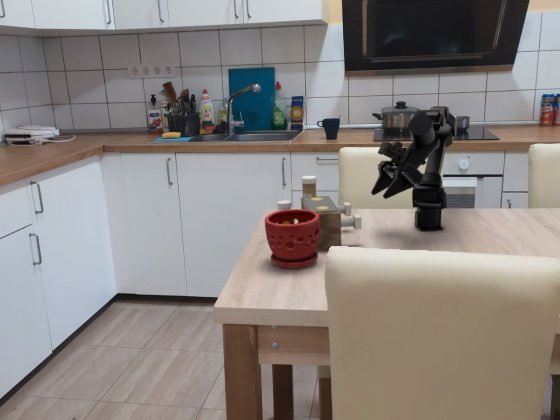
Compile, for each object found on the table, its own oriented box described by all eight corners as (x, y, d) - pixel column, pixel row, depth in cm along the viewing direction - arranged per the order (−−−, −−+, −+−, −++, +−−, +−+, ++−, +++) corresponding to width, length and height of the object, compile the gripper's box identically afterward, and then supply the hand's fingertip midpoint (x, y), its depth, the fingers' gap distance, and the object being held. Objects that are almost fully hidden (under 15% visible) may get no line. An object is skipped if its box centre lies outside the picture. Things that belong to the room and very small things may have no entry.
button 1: (349, 213, 154) (348, 202, 153) (351, 216, 151) (351, 205, 150) (315, 215, 154) (315, 204, 153) (317, 218, 151) (317, 207, 150)
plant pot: (270, 253, 138) (268, 208, 135) (321, 253, 137) (320, 208, 134) (263, 272, 126) (260, 223, 123) (319, 272, 124) (318, 222, 121)
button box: (329, 229, 157) (328, 195, 154) (341, 250, 138) (340, 213, 136) (302, 231, 156) (300, 197, 154) (310, 252, 138) (309, 214, 135)
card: (327, 197, 153) (327, 195, 152) (337, 211, 137) (337, 209, 137) (303, 198, 152) (303, 197, 152) (310, 213, 137) (310, 211, 137)
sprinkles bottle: (320, 218, 168) (319, 176, 164) (308, 221, 165) (307, 178, 162) (311, 215, 171) (310, 174, 168) (300, 218, 169) (298, 176, 166)
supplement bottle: (298, 232, 155) (296, 200, 152) (290, 238, 150) (289, 204, 147) (281, 231, 157) (279, 199, 154) (273, 236, 152) (271, 203, 150)
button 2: (358, 225, 142) (358, 214, 141) (361, 229, 139) (361, 217, 138) (322, 228, 141) (322, 216, 140) (324, 231, 138) (324, 219, 137)
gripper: (384, 131, 147) (346, 172, 147) (411, 129, 129) (367, 177, 129) (411, 158, 150) (374, 199, 149) (442, 161, 131) (399, 208, 131)
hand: (377, 195), depth 140 cm, fingers open, 9 cm apart
